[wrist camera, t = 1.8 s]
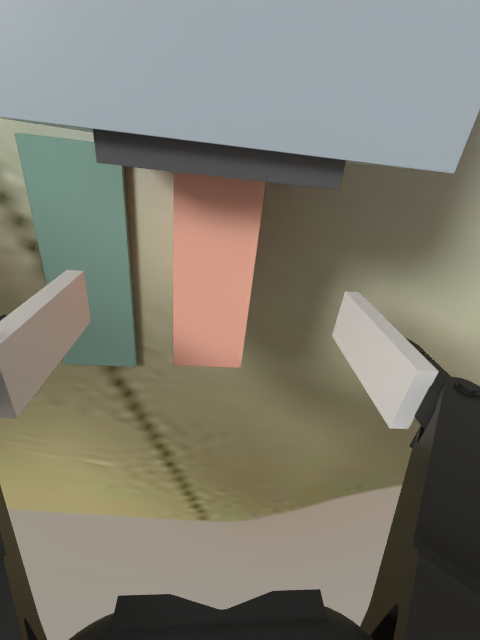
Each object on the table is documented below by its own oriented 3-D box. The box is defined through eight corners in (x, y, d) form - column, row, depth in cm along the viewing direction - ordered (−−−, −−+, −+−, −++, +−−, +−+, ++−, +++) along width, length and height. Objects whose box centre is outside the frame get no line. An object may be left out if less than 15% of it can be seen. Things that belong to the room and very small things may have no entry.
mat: (66, 359, 27) (63, 364, 26) (20, 133, 18) (14, 133, 18) (137, 362, 27) (136, 366, 27) (122, 145, 19) (120, 145, 19)
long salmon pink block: (187, 288, 24) (173, 365, 16) (194, 19, 17) (174, -124, 8) (230, 291, 25) (240, 367, 16) (257, 30, 17) (303, -95, 8)
